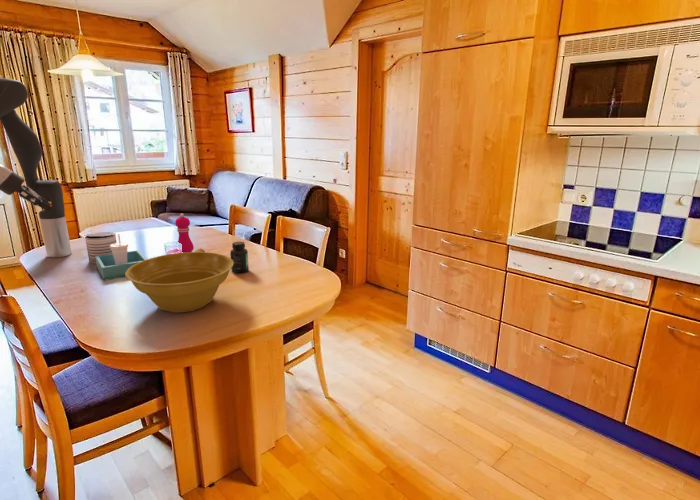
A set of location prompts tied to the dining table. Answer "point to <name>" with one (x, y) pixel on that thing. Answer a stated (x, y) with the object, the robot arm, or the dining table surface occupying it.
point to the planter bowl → (180, 279)
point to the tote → (117, 271)
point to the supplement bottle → (239, 258)
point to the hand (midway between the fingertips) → (50, 207)
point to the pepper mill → (184, 233)
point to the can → (99, 244)
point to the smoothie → (119, 252)
